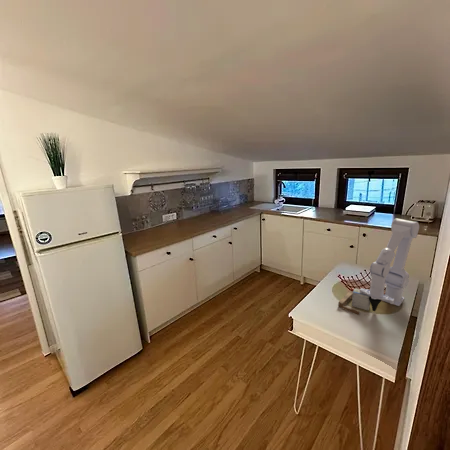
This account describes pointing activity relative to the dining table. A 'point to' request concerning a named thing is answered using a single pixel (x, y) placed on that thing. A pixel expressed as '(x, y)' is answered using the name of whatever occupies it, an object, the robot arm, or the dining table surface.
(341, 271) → the dining table surface
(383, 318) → the dining table surface
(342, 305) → the end stop
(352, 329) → the dining table surface
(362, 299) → the medicine box
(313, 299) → the dining table surface
